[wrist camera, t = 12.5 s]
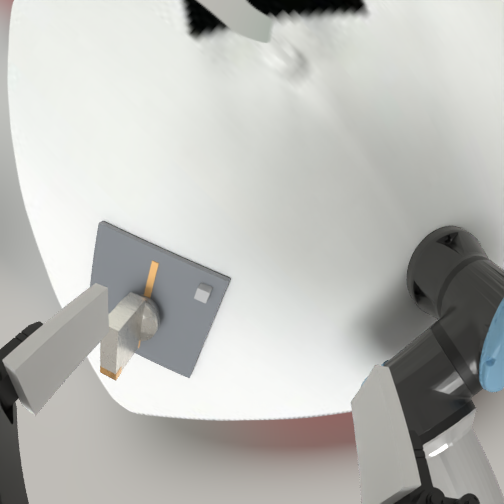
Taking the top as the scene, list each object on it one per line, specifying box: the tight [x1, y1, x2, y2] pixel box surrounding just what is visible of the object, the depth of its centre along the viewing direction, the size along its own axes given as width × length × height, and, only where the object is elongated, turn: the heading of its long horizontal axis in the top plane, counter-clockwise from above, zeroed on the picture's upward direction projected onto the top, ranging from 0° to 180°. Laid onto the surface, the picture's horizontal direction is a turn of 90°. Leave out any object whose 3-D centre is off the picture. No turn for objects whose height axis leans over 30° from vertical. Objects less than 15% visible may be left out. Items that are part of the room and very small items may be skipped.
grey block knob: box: [100, 292, 160, 380], centre depth 41 cm, size 11×8×11 cm
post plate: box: [90, 221, 230, 378], centre depth 48 cm, size 24×24×3 cm
